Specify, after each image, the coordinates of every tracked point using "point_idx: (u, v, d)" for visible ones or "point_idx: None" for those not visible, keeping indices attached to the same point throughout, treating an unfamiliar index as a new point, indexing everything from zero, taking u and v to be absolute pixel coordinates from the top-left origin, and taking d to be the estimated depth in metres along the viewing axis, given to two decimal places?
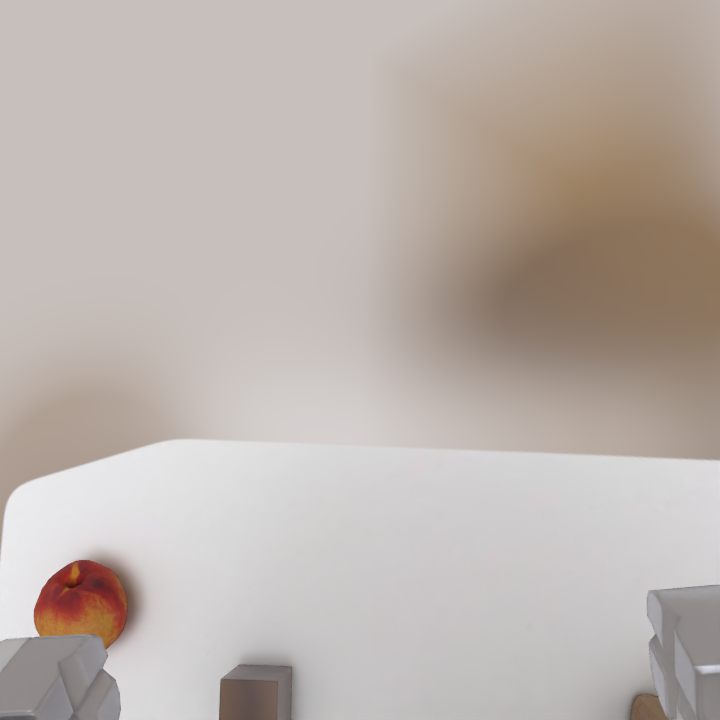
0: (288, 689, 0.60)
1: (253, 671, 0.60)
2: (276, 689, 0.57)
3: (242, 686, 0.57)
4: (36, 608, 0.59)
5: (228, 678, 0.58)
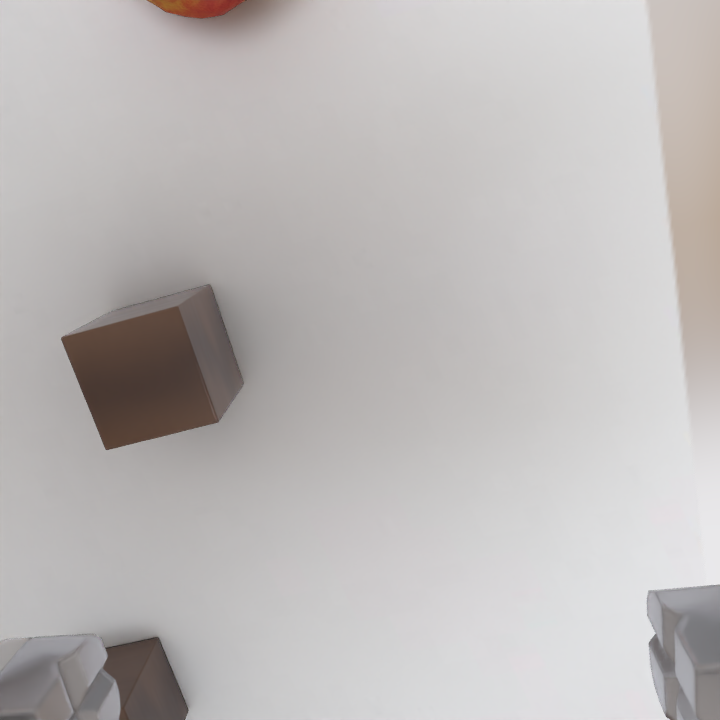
0: None
1: (212, 338, 0.29)
2: (203, 424, 0.28)
3: (181, 356, 0.27)
4: None
5: (184, 319, 0.27)
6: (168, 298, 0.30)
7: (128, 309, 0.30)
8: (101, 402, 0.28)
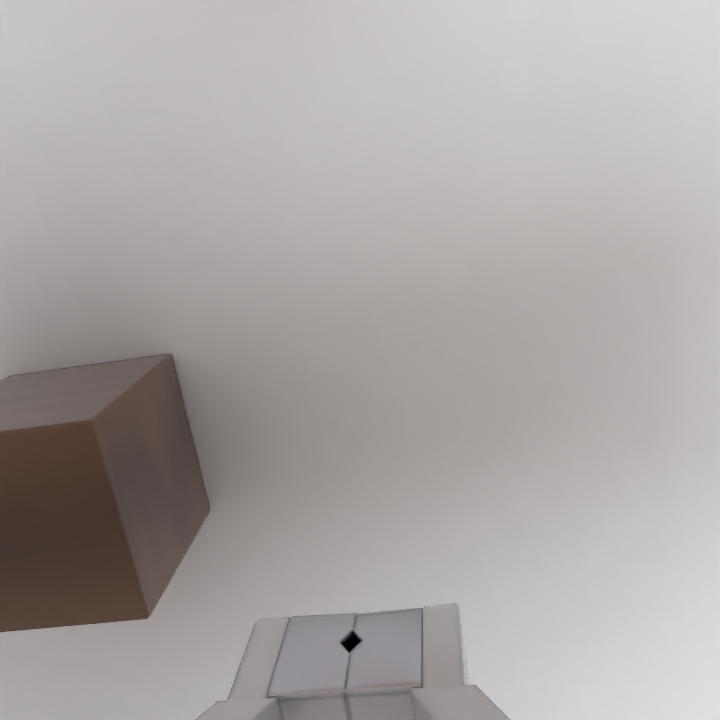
0: None
1: (161, 453, 0.18)
2: (122, 618, 0.16)
3: (92, 506, 0.15)
4: None
5: (104, 442, 0.15)
6: (96, 376, 0.18)
7: (29, 385, 0.18)
8: None
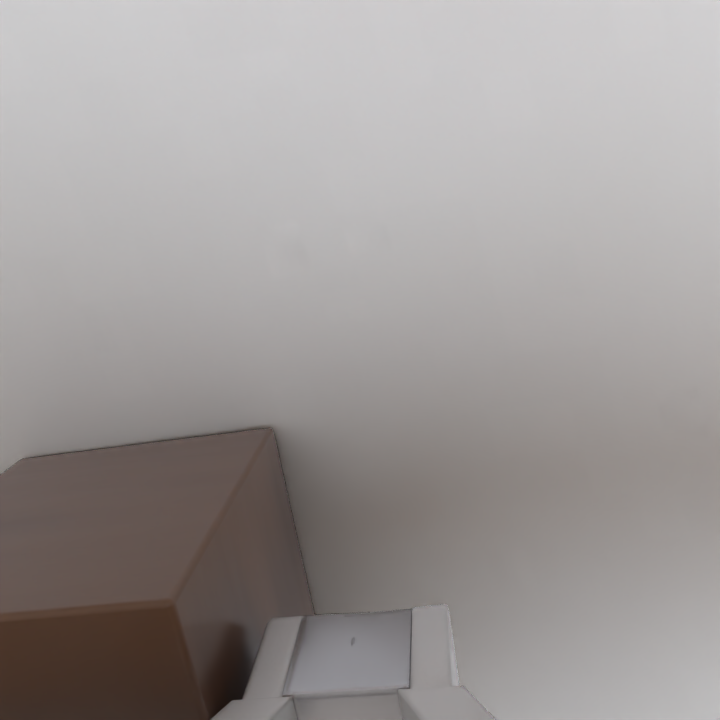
0: None
1: (269, 601, 0.11)
2: None
3: None
4: None
5: (193, 634, 0.08)
6: (160, 470, 0.11)
7: (53, 483, 0.11)
8: None
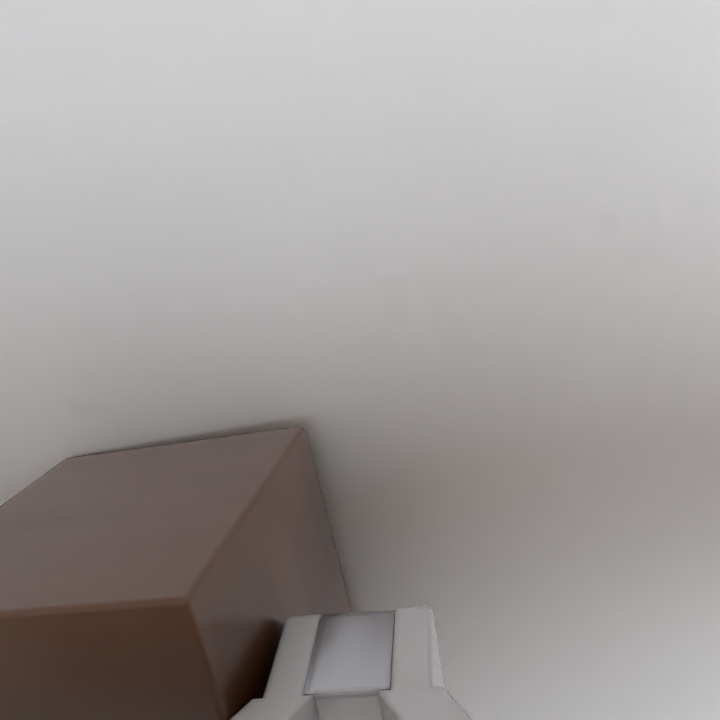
0: None
1: (299, 600, 0.11)
2: None
3: None
4: None
5: (210, 632, 0.08)
6: (192, 469, 0.11)
7: (91, 482, 0.12)
8: None
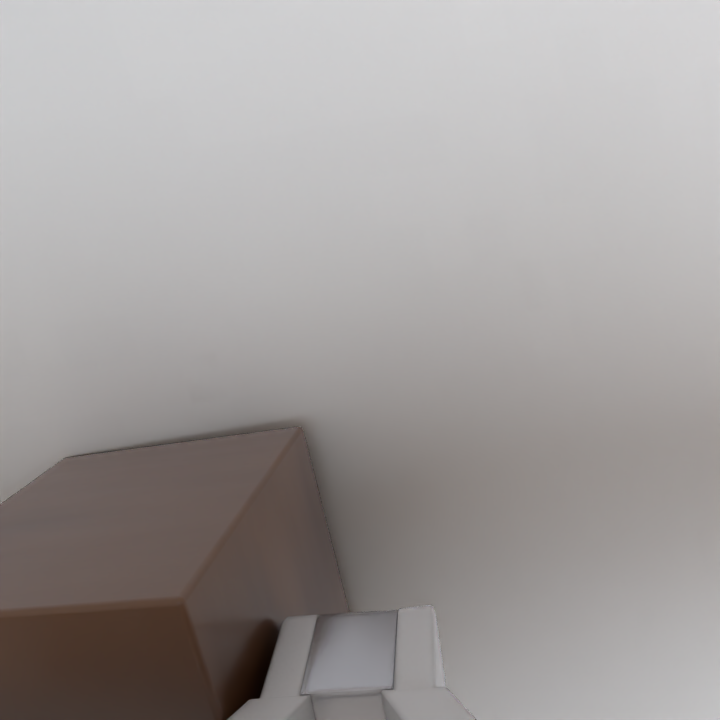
0: None
1: (296, 600, 0.11)
2: None
3: None
4: None
5: (206, 632, 0.08)
6: (189, 469, 0.11)
7: (89, 482, 0.12)
8: None
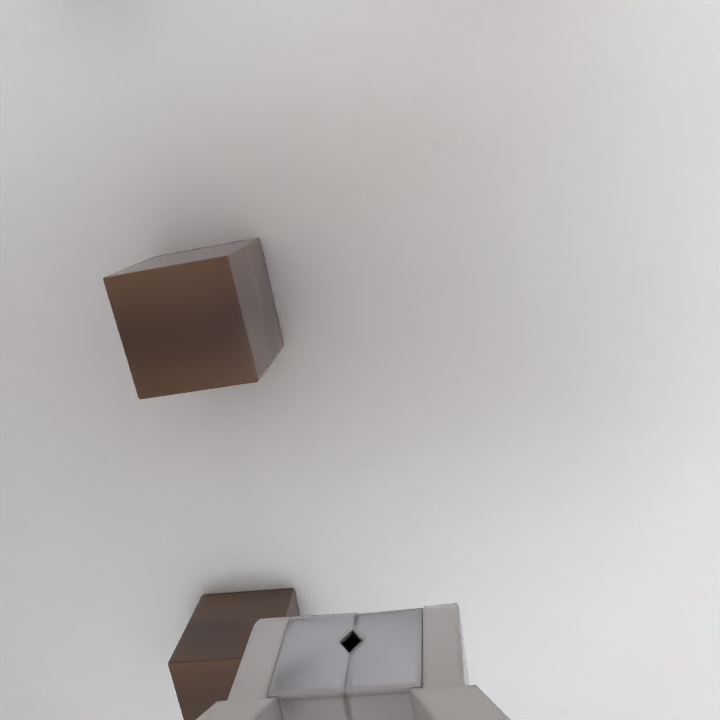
0: None
1: (258, 293, 0.28)
2: (242, 381, 0.26)
3: (226, 309, 0.26)
4: None
5: (233, 270, 0.25)
6: (215, 248, 0.29)
7: (173, 256, 0.29)
8: (139, 349, 0.26)
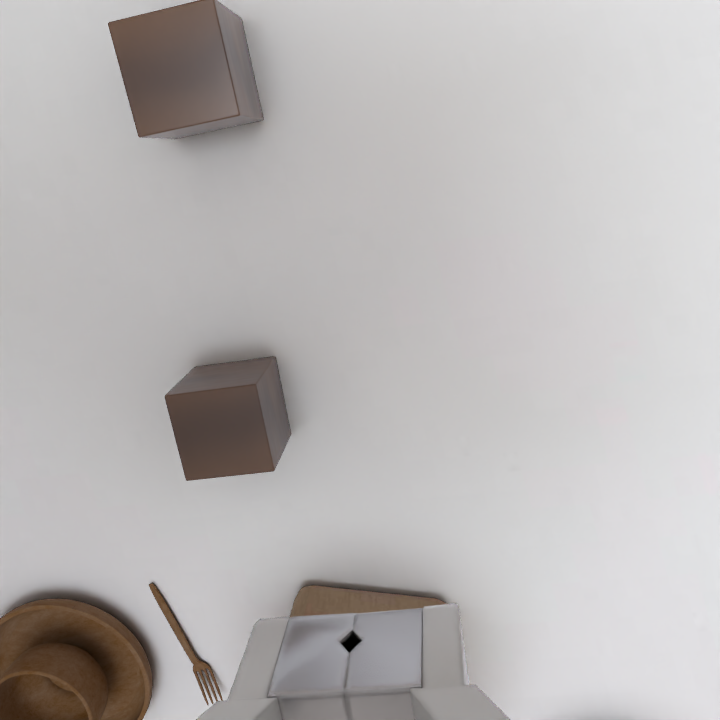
0: (228, 125, 0.35)
1: (240, 55, 0.33)
2: (226, 115, 0.31)
3: (212, 47, 0.30)
4: None
5: (218, 13, 0.30)
6: None
7: None
8: (138, 89, 0.31)
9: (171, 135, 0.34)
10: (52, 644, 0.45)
